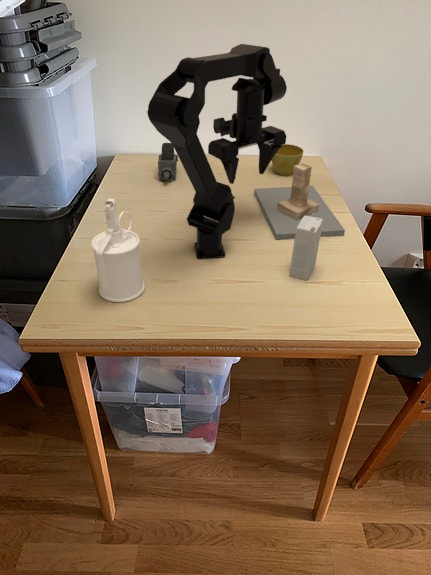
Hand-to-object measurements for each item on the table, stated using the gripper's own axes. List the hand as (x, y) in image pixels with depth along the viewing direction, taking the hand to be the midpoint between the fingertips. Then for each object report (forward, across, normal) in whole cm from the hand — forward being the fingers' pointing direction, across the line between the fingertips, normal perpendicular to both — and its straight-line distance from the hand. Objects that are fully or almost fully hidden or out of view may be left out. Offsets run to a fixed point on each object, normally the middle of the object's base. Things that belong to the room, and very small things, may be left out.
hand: (246, 178), depth 111 cm
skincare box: (+13, +3, +23) cm, 26 cm away
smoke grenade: (+13, +38, +5) cm, 40 cm away
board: (+13, -16, +2) cm, 21 cm away
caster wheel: (+13, -2, -38) cm, 40 cm away
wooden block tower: (+12, -15, +4) cm, 19 cm away
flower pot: (+13, -33, -19) cm, 40 cm away
